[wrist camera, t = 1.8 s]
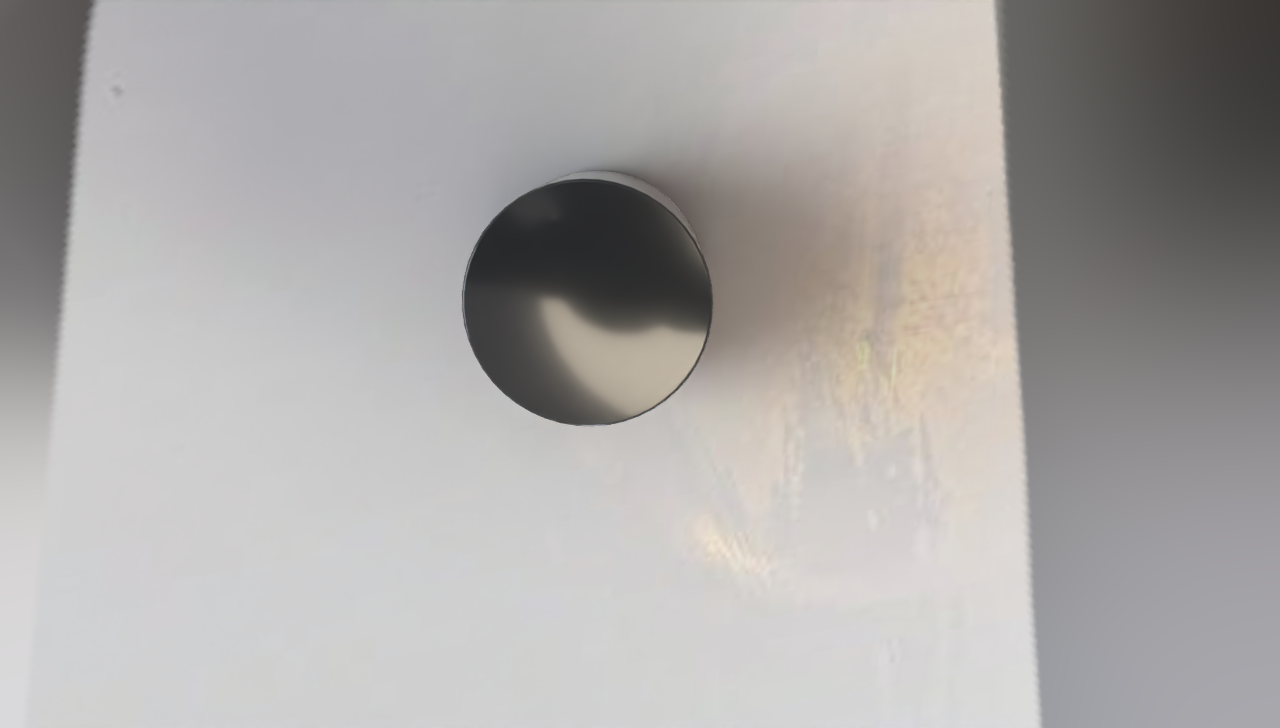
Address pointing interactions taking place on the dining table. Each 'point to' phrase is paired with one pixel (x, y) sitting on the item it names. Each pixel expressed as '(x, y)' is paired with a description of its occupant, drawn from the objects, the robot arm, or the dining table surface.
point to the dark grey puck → (588, 299)
